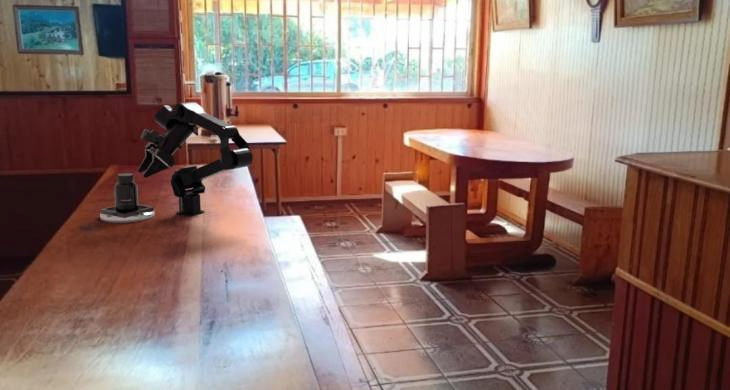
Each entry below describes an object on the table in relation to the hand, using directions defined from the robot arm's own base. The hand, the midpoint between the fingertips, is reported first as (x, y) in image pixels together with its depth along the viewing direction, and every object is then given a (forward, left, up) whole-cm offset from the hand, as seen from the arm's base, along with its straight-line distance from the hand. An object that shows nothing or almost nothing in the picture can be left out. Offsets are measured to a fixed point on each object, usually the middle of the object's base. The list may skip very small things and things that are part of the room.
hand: (141, 174), depth 194 cm
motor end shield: (+4, +3, -14) cm, 15 cm away
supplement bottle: (+4, +3, -12) cm, 13 cm away
